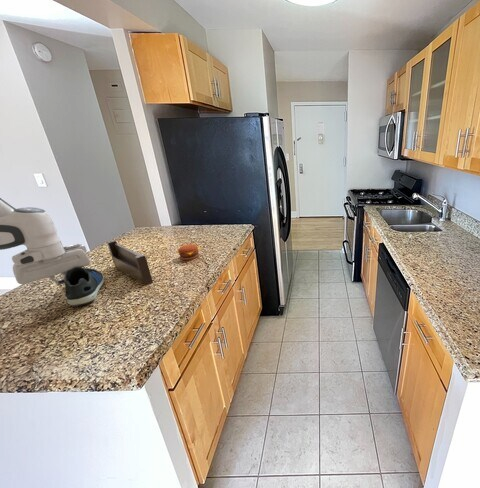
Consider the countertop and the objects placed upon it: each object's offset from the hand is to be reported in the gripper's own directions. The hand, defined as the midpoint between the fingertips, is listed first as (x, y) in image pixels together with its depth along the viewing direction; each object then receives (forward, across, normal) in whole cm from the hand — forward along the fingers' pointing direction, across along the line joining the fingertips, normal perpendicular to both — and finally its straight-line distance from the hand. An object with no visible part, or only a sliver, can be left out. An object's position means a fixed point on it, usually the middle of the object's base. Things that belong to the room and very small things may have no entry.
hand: (62, 283), depth 101 cm
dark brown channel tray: (+6, -22, 0) cm, 23 cm away
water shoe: (+6, -6, +1) cm, 9 cm away
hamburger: (+6, -48, +4) cm, 49 cm away
